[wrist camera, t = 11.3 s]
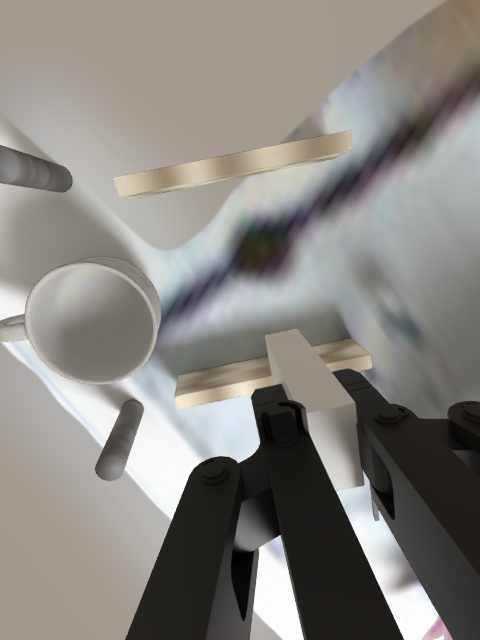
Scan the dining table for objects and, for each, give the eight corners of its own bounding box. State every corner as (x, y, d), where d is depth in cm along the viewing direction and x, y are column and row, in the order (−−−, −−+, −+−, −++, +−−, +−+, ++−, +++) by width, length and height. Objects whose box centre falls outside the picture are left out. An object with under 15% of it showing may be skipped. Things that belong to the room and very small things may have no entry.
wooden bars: (327, 111, 33) (374, 69, 24) (355, 371, 41) (398, 418, 32) (41, 167, 33) (-28, 147, 23) (125, 420, 41) (99, 483, 31)
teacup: (170, 259, 36) (159, 269, 29) (164, 358, 39) (153, 391, 31) (26, 244, 35) (-26, 251, 27) (31, 348, 38) (-15, 381, 30)
